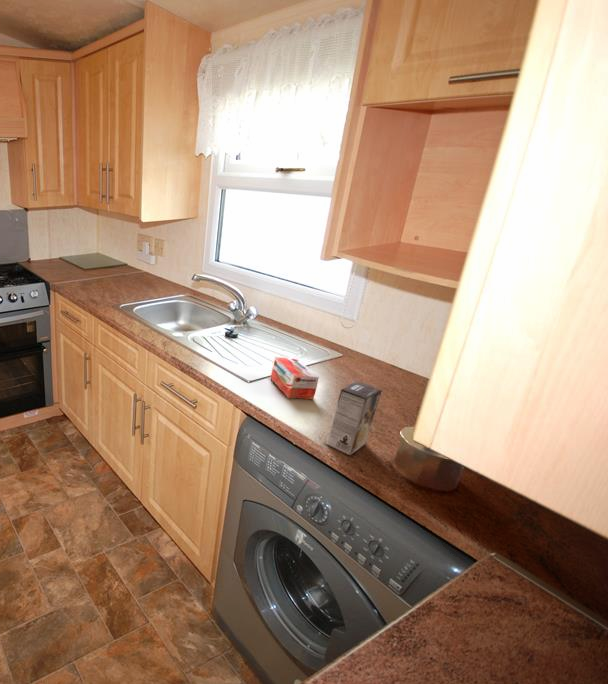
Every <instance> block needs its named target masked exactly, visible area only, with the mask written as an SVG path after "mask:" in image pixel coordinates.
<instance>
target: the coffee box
mask: <svg viewBox="0 0 608 684" xmlns="http://www.w3.org/2000/svg"><path fill="white" fill-rule="evenodd" d="M382 392H383V389H381V388H378V387H375V386H373V385H370V384H367V383H363V382H361V381H358V380H355V381H354V382H352V383H349V384H348V385H347V386H345V387H343V388H341V390H340V393H339V395H338V396H339V397H338V400H337V403H336V406H335V411H334V414H333V417H332V421H331V425H330V429H329V432H328V436H327V439H326V445H328V446H330V447H332V448H333V449H336V450H338V451H340V452H342V453H344V454H346V455H349V456H351V455H353V454H354V453H355V452H356V451H358V450H359V449H361V448H362V447H363V446H365V445H366V442H367V439H368V436H369V433H370V430H371V426H372V423H373V420H374V416H375V414H376V411H377V408H378V405H379V401H380V398H381V395H382Z"/></svg>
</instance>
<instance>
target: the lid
mask: <svg viewBox="0 0 608 684" xmlns="http://www.w3.org/2000/svg"><path fill="white" fill-rule="evenodd" d="M414 427H415V426H406V427H404V428H402V429H401V430H400V433H399V436H400V439H401V438H402V439H403V441H404V442H405V443H407V444H408V445H409V446H411V447H412V448H414V449H416V450H418V451H420V452H422V453H424V454H426V455H429V456H432V457H434V458H438V459H442V460H446V461H451V460H449V459H448V458H446V457H444V456H442V455H440V454H438V453H435V452H433V451H432V450H430V449H428V448H426V447H424V446H422V445H420V444H417V443H415V442H414V441H413V439H412V434H413V429H414ZM452 462H453V461H452Z"/></svg>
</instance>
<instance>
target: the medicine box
mask: <svg viewBox="0 0 608 684" xmlns="http://www.w3.org/2000/svg"><path fill="white" fill-rule="evenodd" d="M270 373H271V374H270V380H271V381H272V382H273V383H274V384H275V385H276V386H277V387H278V388H279V390H280V391H281V392H282V393H283V394H284V395H285V396H286V398H288V399H295V400H296V399H297V400H298V399H303V400H314V398H315V395H316V392H317V387H318V383H319V378H320V376H318V374H316V373H315V372H314V371H313V370H312V369H310V368H309V367H308V366H307V365H306V364H304V363H303V362H302V361H301V360H299V359H298V358H297V357H295V358H294V357H279V356H278V357H276V356H275V357H274V359H273V364H272V368H271V372H270Z"/></svg>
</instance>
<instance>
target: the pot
mask: <svg viewBox="0 0 608 684" xmlns="http://www.w3.org/2000/svg"><path fill="white" fill-rule="evenodd" d="M392 466H393V468H394V469H395V470H396V472H397V473H398V474H399V475H401V476H402V477H403V478H404V479H407V480H408V481H411V482H412V483H414V484H416V485H417V486H421V487H424V488H427V489H430V490H436V491H440V492H447V491H448V492H449V491H453V490H454V489H456V488H457V487H458V485H459V483H460V481H461V478H462V476H463V473H464V471H465V468H466V467H465V468H464V467H462V466H460V465H459V464H457V463H455V462H452V461H446V460H442V459H438V458H434V457H432V456H429V455H426V454H424V453H422V452H420V451H418V450H416V449H414V448H412V447H411V446H409V445H408V444H407V443H405V442H404V441H403V439H402V438H401V437H400V439H399V443H398V445H397V448H396V452H395V454H394V457H393V460H392Z"/></svg>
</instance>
